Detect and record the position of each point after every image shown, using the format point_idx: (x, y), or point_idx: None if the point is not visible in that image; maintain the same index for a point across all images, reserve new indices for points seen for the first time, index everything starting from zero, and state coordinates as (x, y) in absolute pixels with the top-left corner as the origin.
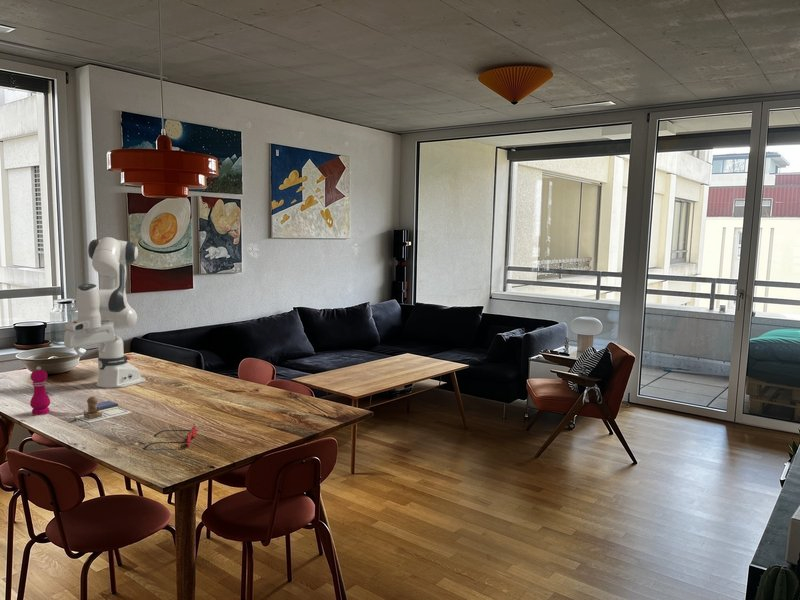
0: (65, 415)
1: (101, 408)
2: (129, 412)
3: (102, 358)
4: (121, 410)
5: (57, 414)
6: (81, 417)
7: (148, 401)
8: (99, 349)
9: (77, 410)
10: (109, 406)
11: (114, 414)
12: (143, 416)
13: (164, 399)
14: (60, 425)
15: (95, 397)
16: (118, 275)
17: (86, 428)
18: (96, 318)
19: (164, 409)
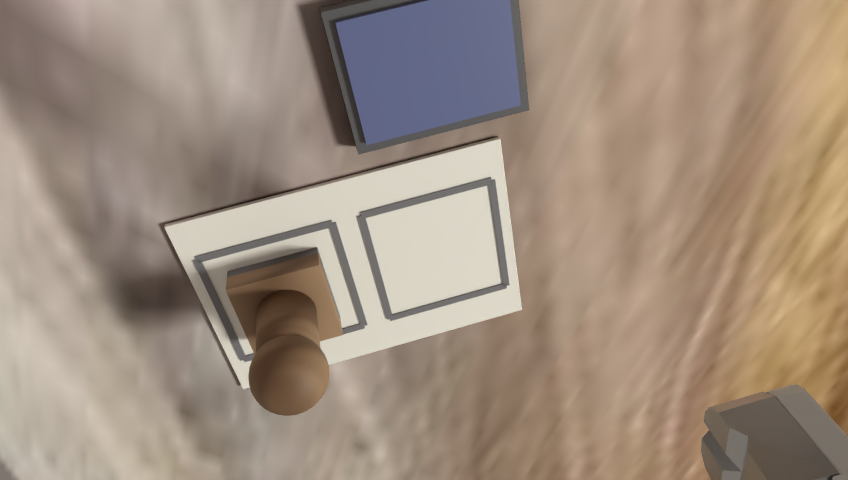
0: (96, 135)
1: (387, 143)
2: (507, 310)
3: None
4: (488, 246)
5: (23, 63)
6: (211, 271)
7: (733, 106)
8: (754, 471)
9: (208, 35)
10: (454, 127)
11: (418, 312)
12: (535, 391)
13: (828, 119)
14: (60, 353)
15: (315, 399)
16: None
17: (213, 456)
18: None
19: (681, 327)
